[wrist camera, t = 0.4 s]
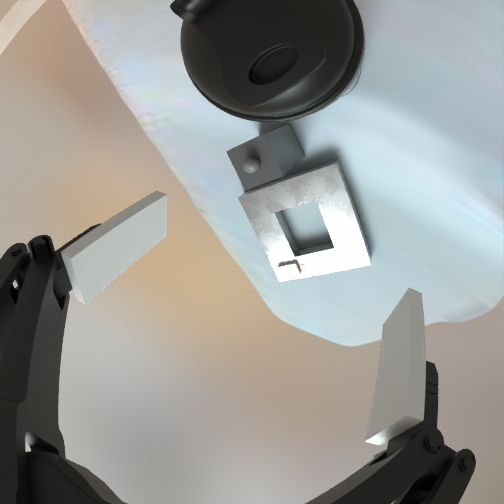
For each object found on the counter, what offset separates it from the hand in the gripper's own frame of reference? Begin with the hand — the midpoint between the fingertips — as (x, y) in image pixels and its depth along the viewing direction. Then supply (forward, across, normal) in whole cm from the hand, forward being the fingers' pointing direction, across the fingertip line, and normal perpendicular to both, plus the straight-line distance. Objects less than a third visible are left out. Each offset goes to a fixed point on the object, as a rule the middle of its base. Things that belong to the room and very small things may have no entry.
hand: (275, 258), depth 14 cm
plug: (+23, -7, -1) cm, 24 cm away
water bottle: (+23, -4, +10) cm, 26 cm away
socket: (+23, -1, -10) cm, 25 cm away
